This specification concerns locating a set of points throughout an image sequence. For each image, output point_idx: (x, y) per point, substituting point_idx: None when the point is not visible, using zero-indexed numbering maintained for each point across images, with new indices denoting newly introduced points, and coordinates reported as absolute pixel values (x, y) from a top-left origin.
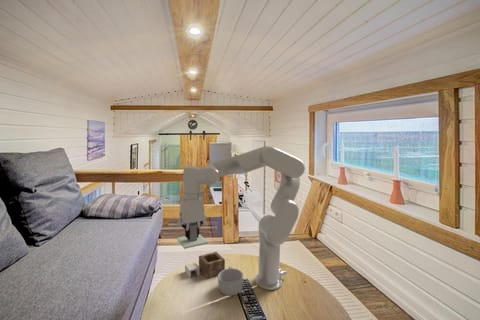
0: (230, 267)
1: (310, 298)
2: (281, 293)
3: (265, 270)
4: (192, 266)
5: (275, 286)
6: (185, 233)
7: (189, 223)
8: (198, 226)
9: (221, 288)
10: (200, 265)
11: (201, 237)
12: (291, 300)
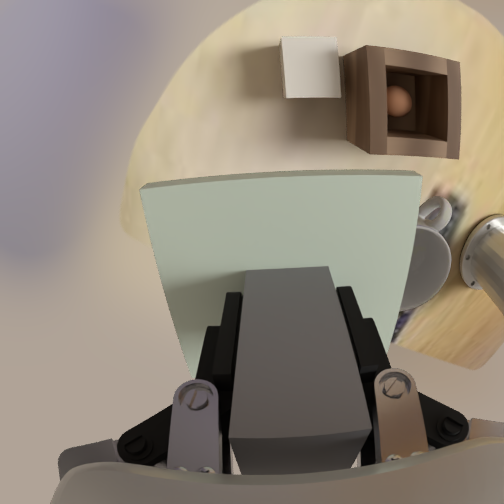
0: (442, 223)
1: (488, 330)
2: (472, 300)
3: (494, 299)
4: (311, 73)
5: (481, 287)
6: (204, 357)
7: (265, 444)
8: (365, 441)
9: None
10: (355, 71)
11: (389, 287)
12: (465, 325)
